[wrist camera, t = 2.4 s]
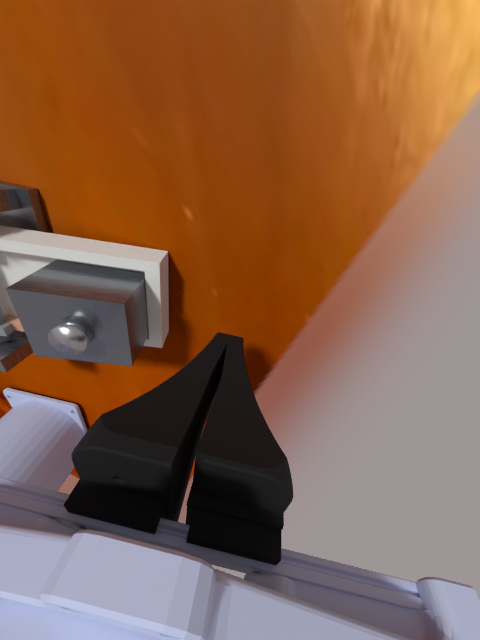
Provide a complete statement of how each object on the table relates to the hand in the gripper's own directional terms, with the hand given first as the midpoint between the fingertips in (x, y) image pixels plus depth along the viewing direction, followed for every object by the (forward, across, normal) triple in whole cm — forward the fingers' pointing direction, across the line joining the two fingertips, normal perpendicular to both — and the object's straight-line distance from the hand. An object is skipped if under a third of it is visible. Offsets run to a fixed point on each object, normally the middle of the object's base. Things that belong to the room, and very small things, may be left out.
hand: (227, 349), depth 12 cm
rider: (+2, +8, 0) cm, 8 cm away
